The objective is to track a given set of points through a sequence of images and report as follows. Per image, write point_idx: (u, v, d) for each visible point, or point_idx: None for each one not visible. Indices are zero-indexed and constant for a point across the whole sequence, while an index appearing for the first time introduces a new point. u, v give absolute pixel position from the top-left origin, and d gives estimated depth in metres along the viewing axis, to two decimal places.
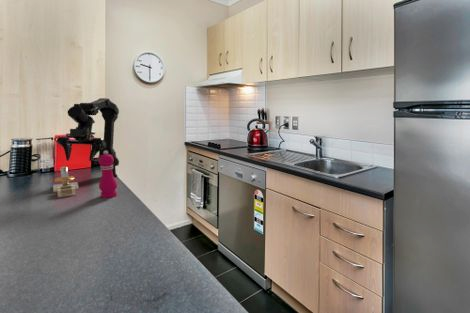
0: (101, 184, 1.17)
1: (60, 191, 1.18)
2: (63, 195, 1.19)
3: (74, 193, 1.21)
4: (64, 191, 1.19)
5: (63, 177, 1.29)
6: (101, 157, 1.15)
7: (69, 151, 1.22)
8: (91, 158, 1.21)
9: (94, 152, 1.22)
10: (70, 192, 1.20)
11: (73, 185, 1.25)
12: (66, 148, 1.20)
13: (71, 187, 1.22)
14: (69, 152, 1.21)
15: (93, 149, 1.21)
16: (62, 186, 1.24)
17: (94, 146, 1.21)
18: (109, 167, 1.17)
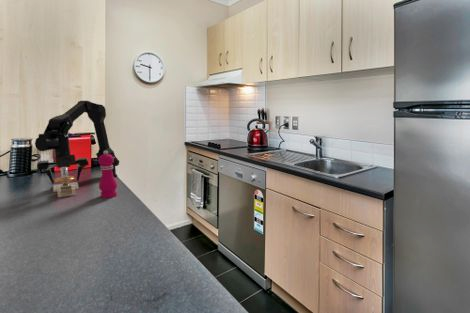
0: (101, 184, 1.17)
1: (60, 191, 1.18)
2: (63, 195, 1.19)
3: (74, 193, 1.21)
4: (64, 191, 1.19)
5: (63, 177, 1.29)
6: (101, 157, 1.15)
7: (51, 174, 1.19)
8: (78, 178, 1.24)
9: None
10: (70, 192, 1.20)
11: (73, 185, 1.25)
12: (50, 173, 1.17)
13: (71, 187, 1.22)
14: (51, 175, 1.19)
15: (79, 171, 1.23)
16: (62, 186, 1.24)
17: (81, 168, 1.22)
18: (109, 167, 1.17)
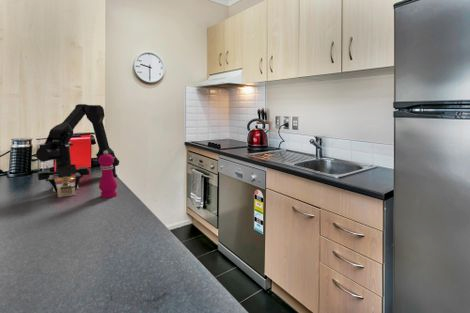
0: (101, 184, 1.17)
1: (60, 191, 1.18)
2: (63, 195, 1.19)
3: (74, 193, 1.21)
4: (64, 191, 1.19)
5: (63, 177, 1.29)
6: (101, 157, 1.15)
7: (55, 183, 1.20)
8: (76, 188, 1.24)
9: (77, 181, 1.24)
10: (70, 192, 1.20)
11: (73, 185, 1.25)
12: (54, 183, 1.18)
13: (71, 187, 1.22)
14: (55, 184, 1.20)
15: (77, 180, 1.23)
16: (62, 186, 1.24)
17: (78, 178, 1.22)
18: (109, 167, 1.17)
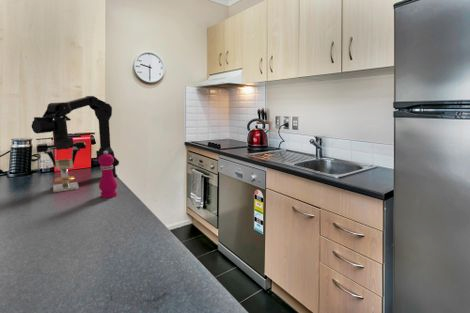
0: (101, 184, 1.17)
1: (58, 163, 1.24)
2: (61, 167, 1.24)
3: (72, 166, 1.27)
4: (62, 163, 1.24)
5: (63, 177, 1.29)
6: (101, 157, 1.15)
7: (53, 156, 1.25)
8: (73, 161, 1.30)
9: None
10: (68, 165, 1.26)
11: (70, 159, 1.31)
12: (52, 155, 1.23)
13: (68, 160, 1.28)
14: None
15: (74, 154, 1.28)
16: (60, 160, 1.29)
17: (76, 151, 1.28)
18: (109, 167, 1.17)
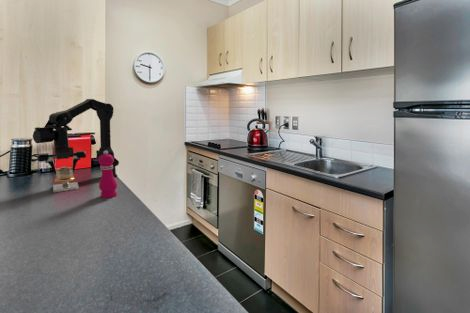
0: (101, 184, 1.17)
1: (58, 172, 1.26)
2: (61, 176, 1.27)
3: (72, 174, 1.29)
4: (62, 172, 1.27)
5: None
6: (101, 157, 1.15)
7: (54, 165, 1.28)
8: None
9: None
10: (68, 173, 1.28)
11: (71, 168, 1.34)
12: (52, 165, 1.26)
13: (69, 169, 1.30)
14: (54, 166, 1.28)
15: (75, 163, 1.31)
16: None
17: (76, 160, 1.30)
18: (109, 167, 1.17)
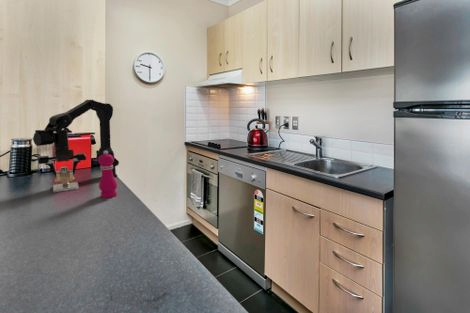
0: (101, 184, 1.17)
1: (59, 175, 1.27)
2: (62, 178, 1.27)
3: (72, 177, 1.30)
4: (62, 175, 1.27)
5: None
6: (101, 157, 1.15)
7: (54, 167, 1.28)
8: (74, 172, 1.32)
9: None
10: (68, 176, 1.29)
11: (71, 170, 1.34)
12: (53, 167, 1.26)
13: (69, 171, 1.31)
14: (54, 168, 1.29)
15: (75, 165, 1.31)
16: None
17: (76, 163, 1.31)
18: (109, 167, 1.17)
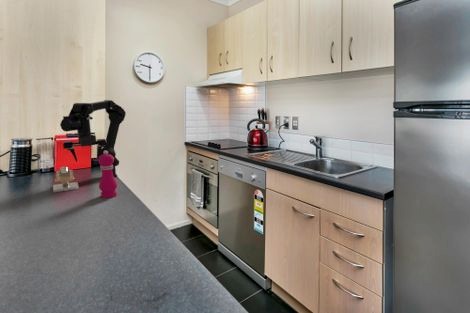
0: (101, 184, 1.17)
1: (59, 175, 1.27)
2: (62, 178, 1.27)
3: (72, 177, 1.30)
4: (62, 175, 1.27)
5: None
6: (101, 157, 1.15)
7: None
8: (98, 157, 1.40)
9: None
10: (68, 176, 1.29)
11: (71, 170, 1.34)
12: (74, 152, 1.32)
13: (69, 171, 1.31)
14: None
15: (99, 150, 1.38)
16: None
17: (100, 148, 1.38)
18: (109, 167, 1.17)
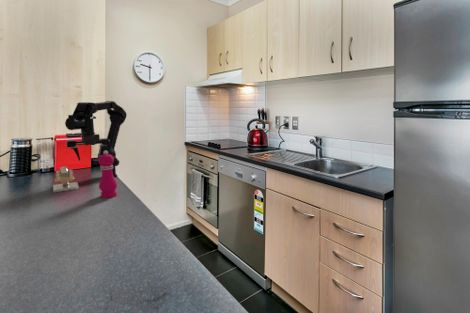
0: (101, 184, 1.17)
1: (59, 175, 1.27)
2: (62, 178, 1.27)
3: (72, 177, 1.30)
4: (62, 175, 1.27)
5: None
6: (101, 157, 1.15)
7: None
8: None
9: None
10: (68, 176, 1.29)
11: (71, 170, 1.34)
12: (77, 151, 1.33)
13: (69, 171, 1.31)
14: (78, 152, 1.35)
15: (102, 149, 1.39)
16: None
17: (103, 147, 1.39)
18: (109, 167, 1.17)
